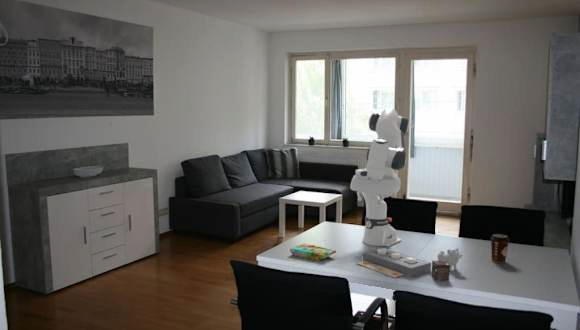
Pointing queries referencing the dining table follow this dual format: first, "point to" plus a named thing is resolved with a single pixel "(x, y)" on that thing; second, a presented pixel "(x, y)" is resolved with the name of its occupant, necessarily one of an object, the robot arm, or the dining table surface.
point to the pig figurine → (450, 257)
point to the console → (397, 262)
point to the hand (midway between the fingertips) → (369, 202)
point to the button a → (381, 251)
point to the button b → (395, 255)
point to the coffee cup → (499, 247)
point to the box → (440, 270)
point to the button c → (410, 260)
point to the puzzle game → (311, 251)
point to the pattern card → (380, 269)
